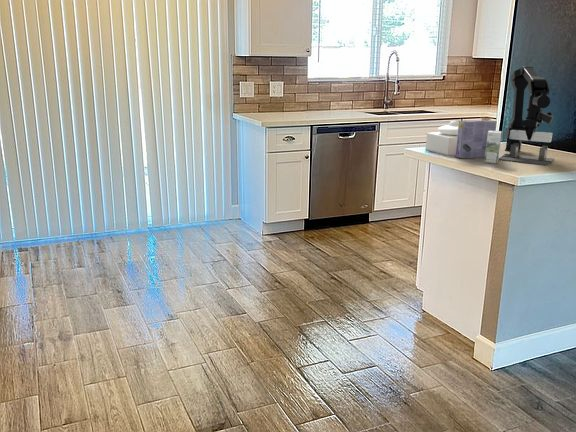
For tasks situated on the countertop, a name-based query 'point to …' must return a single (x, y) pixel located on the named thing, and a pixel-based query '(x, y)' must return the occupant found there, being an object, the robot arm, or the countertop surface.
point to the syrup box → (493, 147)
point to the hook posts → (541, 156)
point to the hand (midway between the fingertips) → (530, 139)
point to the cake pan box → (473, 138)
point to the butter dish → (443, 139)
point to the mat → (524, 161)
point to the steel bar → (535, 136)
